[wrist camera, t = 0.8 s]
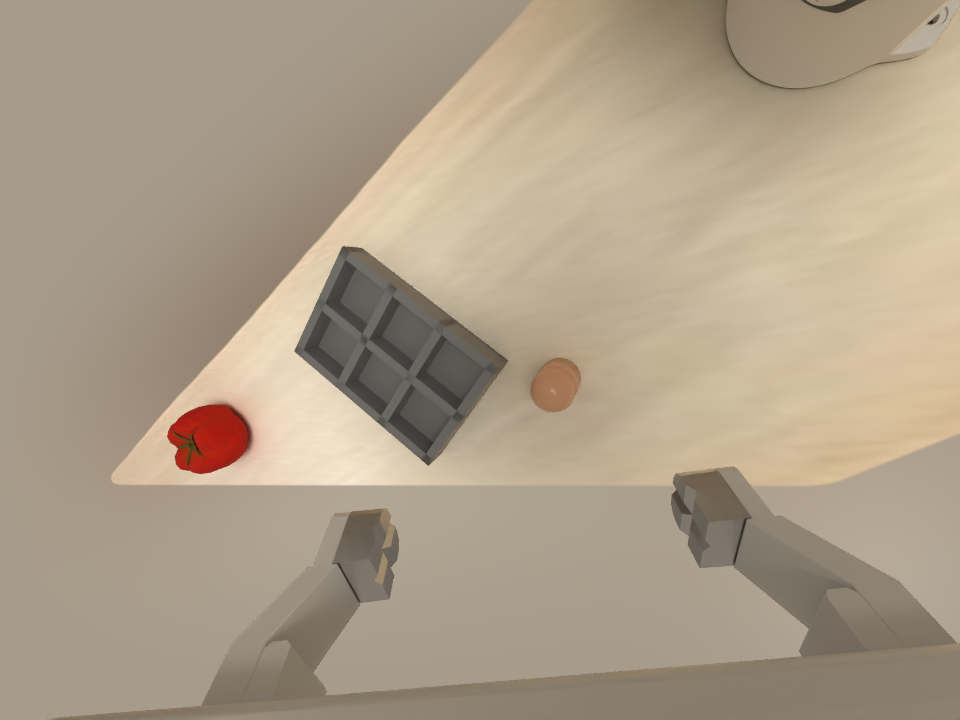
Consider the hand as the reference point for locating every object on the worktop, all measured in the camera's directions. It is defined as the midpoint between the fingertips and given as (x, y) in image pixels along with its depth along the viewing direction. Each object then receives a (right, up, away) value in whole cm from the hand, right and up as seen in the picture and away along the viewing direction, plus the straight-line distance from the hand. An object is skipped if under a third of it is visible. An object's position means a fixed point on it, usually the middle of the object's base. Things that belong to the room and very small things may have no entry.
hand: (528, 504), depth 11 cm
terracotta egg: (+8, +2, +37) cm, 38 cm away
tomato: (-45, -8, +59) cm, 75 cm away
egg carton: (-12, +5, +44) cm, 46 cm away
